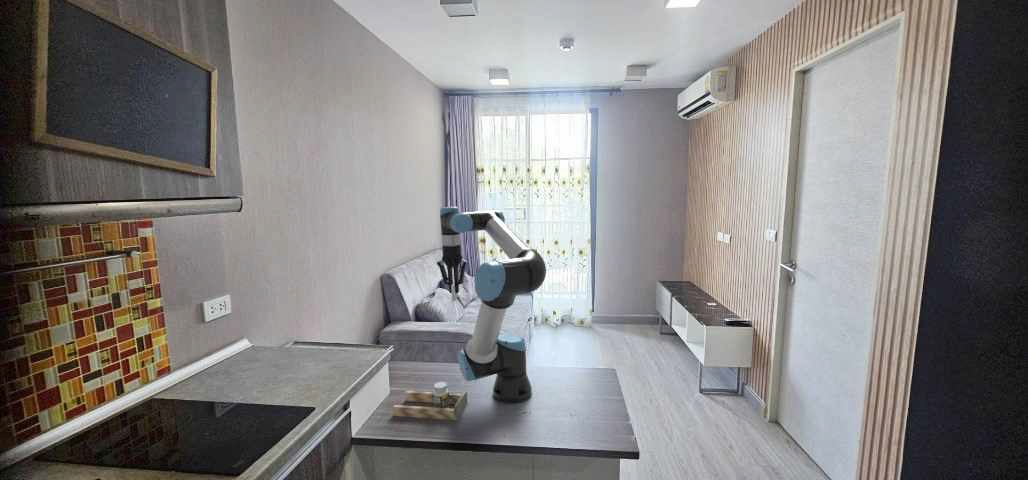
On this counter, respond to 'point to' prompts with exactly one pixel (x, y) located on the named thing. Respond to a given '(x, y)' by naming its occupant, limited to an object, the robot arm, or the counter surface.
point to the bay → (431, 412)
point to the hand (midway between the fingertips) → (454, 300)
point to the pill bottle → (441, 395)
